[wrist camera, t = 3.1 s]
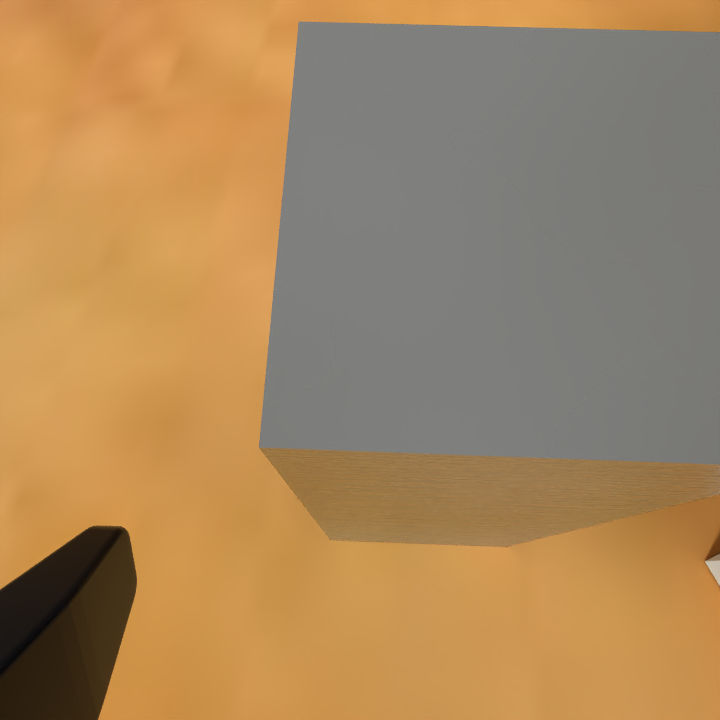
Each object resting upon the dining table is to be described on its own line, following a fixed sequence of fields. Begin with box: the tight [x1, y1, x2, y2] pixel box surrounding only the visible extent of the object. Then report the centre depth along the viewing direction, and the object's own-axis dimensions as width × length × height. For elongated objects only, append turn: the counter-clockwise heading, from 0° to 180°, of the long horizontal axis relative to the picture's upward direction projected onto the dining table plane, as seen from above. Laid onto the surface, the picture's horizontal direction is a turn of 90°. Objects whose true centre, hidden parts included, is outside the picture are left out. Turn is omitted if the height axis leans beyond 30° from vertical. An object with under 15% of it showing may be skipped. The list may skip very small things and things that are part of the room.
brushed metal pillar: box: [259, 22, 720, 547], centre depth 12 cm, size 5×5×13 cm
